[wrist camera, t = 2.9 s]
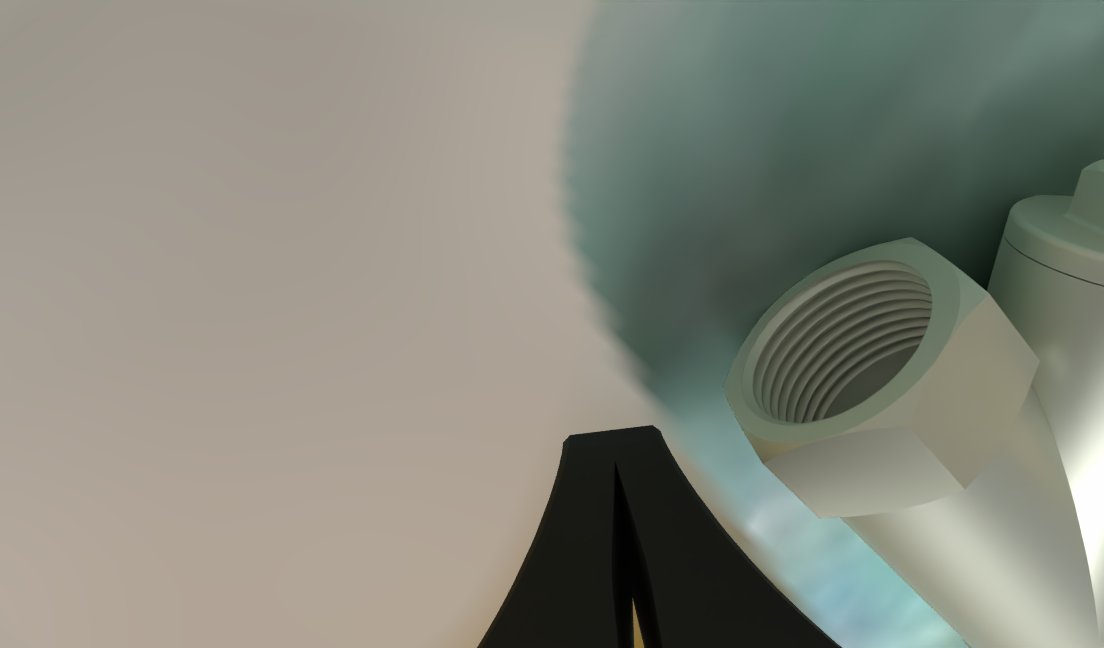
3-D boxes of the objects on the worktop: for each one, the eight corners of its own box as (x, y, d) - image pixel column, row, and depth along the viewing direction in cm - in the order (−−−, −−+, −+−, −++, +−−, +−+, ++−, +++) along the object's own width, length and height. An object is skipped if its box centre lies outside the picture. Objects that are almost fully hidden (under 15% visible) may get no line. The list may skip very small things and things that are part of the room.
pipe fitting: (1075, 45, 11) (700, 349, 13) (1341, 98, 8) (780, 505, 9) (1277, 389, 14) (951, 601, 16) (1537, 541, 11) (1082, 791, 12)
